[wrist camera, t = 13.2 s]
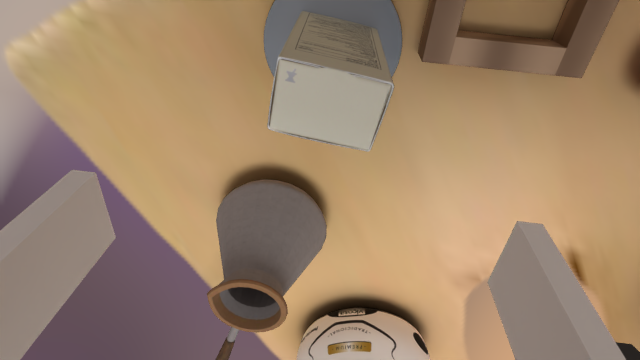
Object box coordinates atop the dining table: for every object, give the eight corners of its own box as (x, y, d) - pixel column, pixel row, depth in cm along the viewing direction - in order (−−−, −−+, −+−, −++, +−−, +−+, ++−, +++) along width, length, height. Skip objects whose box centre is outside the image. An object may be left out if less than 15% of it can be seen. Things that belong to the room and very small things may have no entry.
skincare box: (291, 63, 31) (259, 130, 21) (301, 8, 29) (270, 53, 19) (366, 82, 31) (371, 156, 21) (382, 29, 29) (396, 84, 19)
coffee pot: (241, 149, 37) (183, 260, 25) (346, 191, 39) (340, 314, 27) (195, 279, 49) (140, 398, 37) (278, 307, 51) (252, 430, 38)
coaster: (414, -26, 28) (415, -24, 27) (387, 112, 34) (388, 117, 33) (266, -41, 28) (263, -39, 27) (266, 99, 34) (264, 104, 33)
